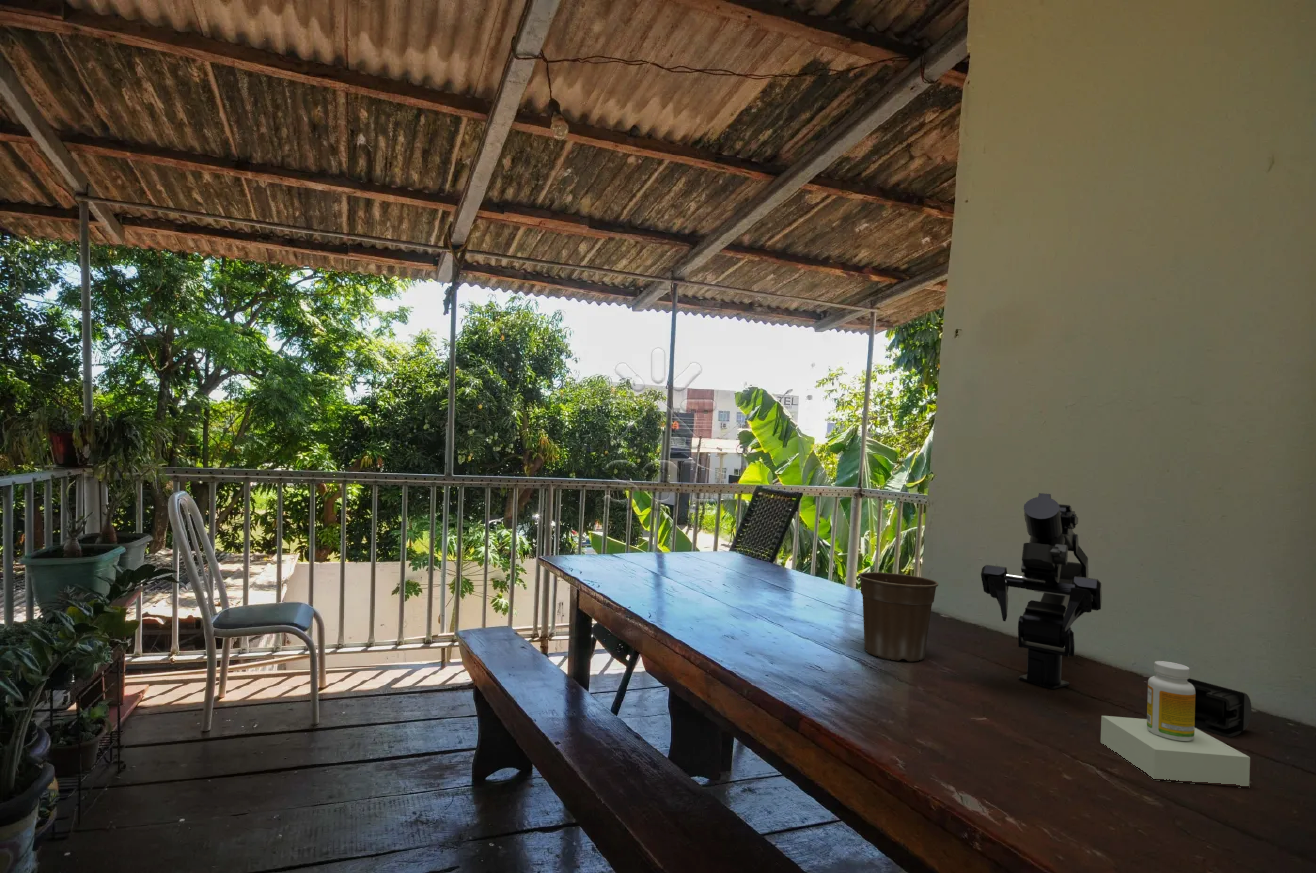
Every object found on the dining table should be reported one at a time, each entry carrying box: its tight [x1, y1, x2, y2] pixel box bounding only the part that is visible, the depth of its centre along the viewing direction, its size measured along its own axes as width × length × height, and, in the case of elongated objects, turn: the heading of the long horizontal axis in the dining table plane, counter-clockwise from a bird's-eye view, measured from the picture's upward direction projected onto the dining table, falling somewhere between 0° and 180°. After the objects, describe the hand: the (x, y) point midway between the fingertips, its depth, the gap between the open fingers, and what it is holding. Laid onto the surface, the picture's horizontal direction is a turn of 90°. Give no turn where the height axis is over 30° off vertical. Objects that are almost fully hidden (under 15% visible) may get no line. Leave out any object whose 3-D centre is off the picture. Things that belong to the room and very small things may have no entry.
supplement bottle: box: [1146, 660, 1195, 741], centre depth 96 cm, size 5×5×10 cm
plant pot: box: [857, 571, 939, 662], centre depth 145 cm, size 16×16×16 cm
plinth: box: [1100, 715, 1251, 787], centre depth 96 cm, size 12×12×4 cm
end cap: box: [1187, 677, 1252, 739], centre depth 113 cm, size 10×7×7 cm
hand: (1033, 624), depth 118 cm, fingers open, 9 cm apart
